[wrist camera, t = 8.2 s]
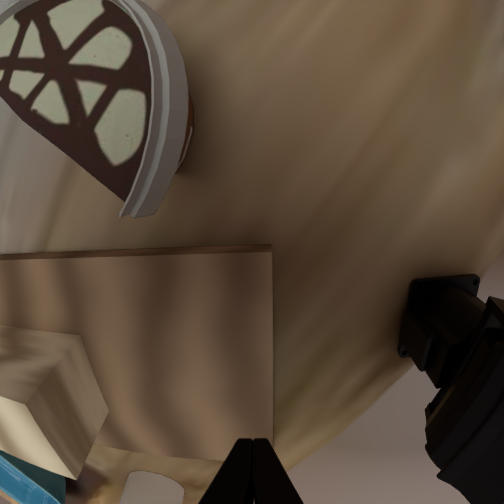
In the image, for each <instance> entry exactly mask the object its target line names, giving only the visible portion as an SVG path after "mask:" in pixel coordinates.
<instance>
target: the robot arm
mask: <svg viewBox="0 0 504 504" xmlns="http://www.w3.org/2000/svg"><path fill="white" fill-rule="evenodd" d="M474 280H475V281H474ZM473 281H474V283H473ZM479 283H480V278H479V277H478V276H477V275H475V274H471V275H460V276H449V277H436V278H424V279H415V280H414V281H413V282H412V283H411V285H410V291H409V296H408V302H407V308H406V309H405V311H404V315H403V321H402V326H401V330H400V335H399V340H400V342H399V346H398V354H399V356H400V357H401V358H405V357H411V358H412V360H413V361H414V363H415V364H416V366H417V368H418V369H419V370H420V371H421V372H422V371H425V372H426V373H427V375H428V376H429V378H430V379H431V381H432V383H433V384H434V386H435V387H436V388H437V389H438V388H441V389H440V390H439V392H438V393H437V395H436V396H435V398H434V399H433V401H432V402H431V403H429V404H428V405H427V407H426V408H425V415H426V428H425V432H426V439H427V444H426V445H425V449H426V451H427V453H428V455H429V457H430V459H431V460H432V461H433V463H434V464H435V465H436V466H437V467H438V468H439V469H440V470H441V471H440V472H439V473H438V474H437V478H438V479H440V480H442V481H444V482H446V483H448V484H450V485H452V486H453V487H454V488H456V489H457V490H458V491H460V492H461V493H462V495H463V496H464V497H465V498H466V499H467V500H468V501H469V503H470V504H504V300H502V299H499V298H495V297H491V296H489V297H488V300H487V302H486V304H485V303H484V302H482V301H481V300H480V299H479V298H478V297H476V296H477V292H478V288H479ZM417 285H419V287H418V288H417V289H415V288H416V286H417ZM404 350H405V351H404ZM403 351H404V352H403ZM254 502H255V504H303V501H302V500H301V498H300V496H299V495H298V493H297V491H296V489H295V488H294V486H293V484H292V482H291V481H290V479H289V477H288V475H287V473H286V471H285V470H284V468H283V466H282V464H281V462H280V460H279V459H278V457H277V455H276V453H275V451H274V449H273V447H272V445H271V444H270V442H269V440H268V439H267V438H254V439H253V440H252V439H251V438H239V439H237V440H236V442H235V444H234V446H233V447H232V449H231V451H230V452H229V454H228V456H227V457H226V459H225V461H224V463H223V464H222V466H221V468H220V469H219V471H218V472H217V474H216V476H215V477H214V479H213V481H212V482H211V484H210V485H209V487H208V489H207V490H206V492H205V493H204V495H203V497H202V498H201V500H200V501H199V503H198V504H253V503H254Z"/></svg>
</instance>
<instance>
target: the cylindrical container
mask: <svg viewBox="0 0 504 504" xmlns="http://www.w3.org/2000/svg"><path fill="white" fill-rule="evenodd" d="M183 497H184V489H183V487H182V486H181V485H180V484H179V483H177V482H176V481H174V480H172V479H170V478H168V477H165V476H163V475H160V474H156V473H152V472H146V471H135V472H132V473H130V474H129V475H128V478H127V481H126V485H125V488H124V491H123V494H122V497H121V500H120V503H119V504H182V502H183Z"/></svg>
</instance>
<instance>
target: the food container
mask: <svg viewBox="0 0 504 504" xmlns="http://www.w3.org/2000/svg"><path fill="white" fill-rule="evenodd" d="M0 96H1V98H2V99H3V100H4V101H5V102H6V103H7V104H8V105H9V106H10V108H11V109H12V110H13V111H14V112H15V113H16V114H17V115H18V116H19V117H20V118H21V119H22V120H23V121H24V122H25V123H27V124H28V125H29V126H30V127H32V128H33V129H34V130H36V131H37V132H38V133H40V134H41V135H42V136H44V137H45V138H46V139H48V140H49V141H50V142H51V143H53V144H54V145H55V146H57V147H58V148H59V149H60V150H62V151H63V152H64V153H65V154H67V155H68V156H69V157H71V158H72V159H73V160H74V161H75V162H77V163H78V164H79V165H80V166H81V167H83V168H84V169H85V170H86V171H87V172H89V173H90V174H91V175H92V176H94V177H95V178H96V179H97V180H98V181H100V182H101V183H102V184H103V185H105V186H106V187H107V188H108V189H109V190H111V191H112V192H113V193H114V194H116V195H117V196H118V197H119V198H121V199H122V200H123V201H124V202H125V203H124V205H123V207H122V209H121V211H120V213H119V215H118V216H119V217H123V216H125V215H127V214H130V215H131V216H132V217H133V218H137V217H143V216H149V215H154V214H155V212H156V210H157V208H158V207H159V205H160V203H161V201H162V200H163V198H164V196H165V194H166V193H167V190H168V188H169V185H170V183H171V181H172V178H173V176H174V174H176V172H177V171H178V169H179V167H180V166H181V164H182V162H183V161H184V159H185V158H186V155H187V152H188V149H189V146H190V142H191V139H192V136H193V133H194V107H193V104H192V101H191V98H190V95H189V92H188V83H187V77H186V72H185V66H184V60H183V58H182V55H181V52H180V50H179V47H178V44H177V42H176V39H175V37H174V36H173V34H172V32H171V31H170V29H169V28H168V26H167V24H166V23H165V21H164V20H163V19H162V18H161V17H160V16H159V15H158V14H157V13H156V12H155V11H154V10H153V9H152V8H151V7H150V6H148V5H146V4H145V3H143V2H142V1H140V0H17V1H16V2H14V3H13V4H11V5H10V6H9V7H7V8H6V9H5V10H3V11H2V12H1V13H0Z"/></svg>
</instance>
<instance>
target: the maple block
mask: <svg viewBox="0 0 504 504" xmlns="http://www.w3.org/2000/svg"><path fill="white" fill-rule="evenodd" d="M108 412H109V410H108V407H107V405H106V403H105V400H104V398H103V396H102V393H101V391H100V388H99V386H98V383H97V381H96V378H95V376H94V373H93V370H92V368H91V365H90V362H89V360H88V357H87V354H86V351H85V348H84V345H83V342H82V339H81V336H80V335H73V334H64V333H55V332H46V331H38V330H31V329H24V328H17V327H10V326H4V325H0V450H2V451H4V452H6V453H8V454H10V455H13V456H15V457H17V458H19V459H22V460H24V461H26V462H28V463H31V464H33V465H36V466H38V467H41V468H43V469H46V470H49V471H51V472H54V473H57V474H60V475H63V476H65V477H68V478H72V479H75V480H77V479H78V476H79V474H80V472H81V470H82V467H83V465H84V463H85V461H86V459H87V456H88V454H89V452H90V450H91V448H92V446H93V443H94V441H95V439H96V437H97V435H98V433H99V431H100V429H101V427H102V425H103V422H104V420H105V418H106V416H107V414H108Z"/></svg>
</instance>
